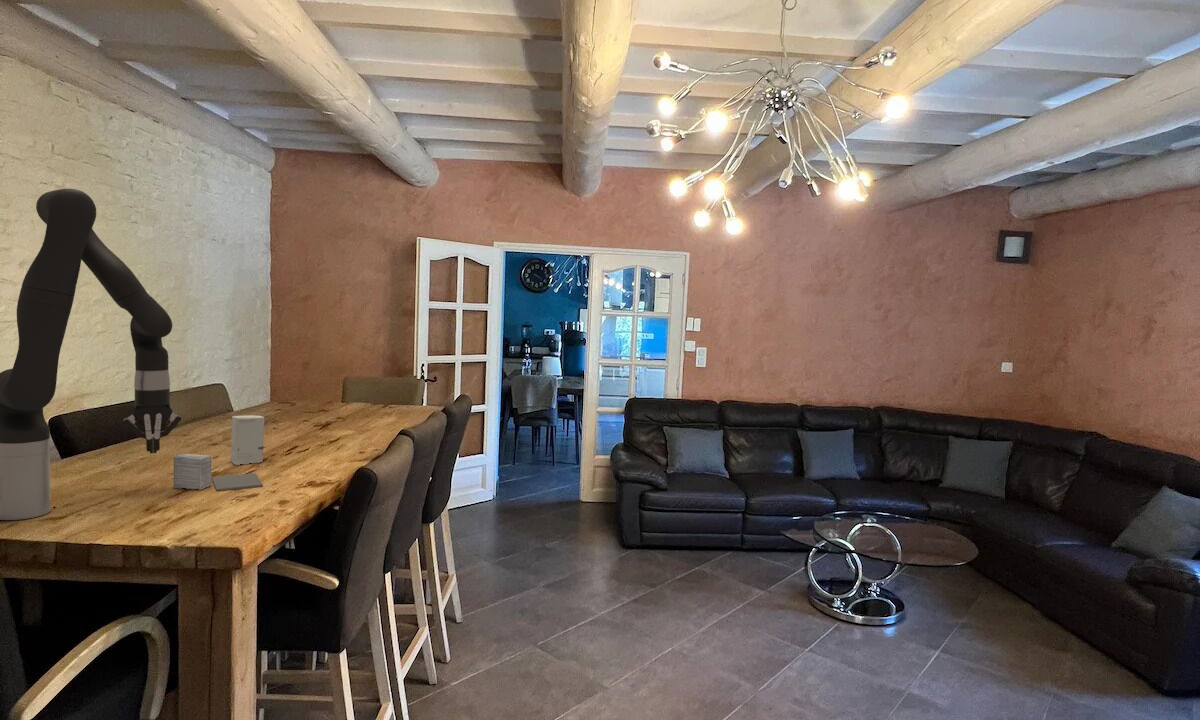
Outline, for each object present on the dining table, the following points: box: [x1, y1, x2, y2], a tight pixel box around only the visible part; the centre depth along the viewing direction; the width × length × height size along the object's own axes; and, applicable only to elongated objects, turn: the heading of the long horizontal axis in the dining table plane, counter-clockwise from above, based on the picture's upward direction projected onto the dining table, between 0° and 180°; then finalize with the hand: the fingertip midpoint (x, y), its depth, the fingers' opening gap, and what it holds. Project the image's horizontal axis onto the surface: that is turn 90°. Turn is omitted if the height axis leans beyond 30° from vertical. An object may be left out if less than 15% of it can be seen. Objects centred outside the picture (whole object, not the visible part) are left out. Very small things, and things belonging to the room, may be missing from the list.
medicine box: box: [173, 453, 212, 491], centre depth 171 cm, size 8×4×9 cm, turn 84°
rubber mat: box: [211, 472, 264, 492], centre depth 177 cm, size 11×14×1 cm
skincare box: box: [230, 414, 265, 466], centre depth 200 cm, size 8×6×15 cm
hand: (153, 452), depth 166 cm, fingers closed
